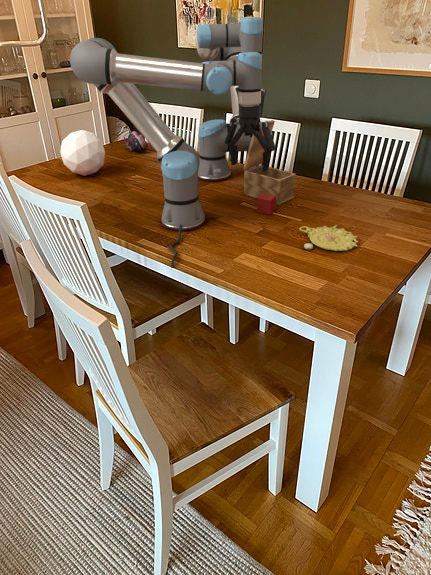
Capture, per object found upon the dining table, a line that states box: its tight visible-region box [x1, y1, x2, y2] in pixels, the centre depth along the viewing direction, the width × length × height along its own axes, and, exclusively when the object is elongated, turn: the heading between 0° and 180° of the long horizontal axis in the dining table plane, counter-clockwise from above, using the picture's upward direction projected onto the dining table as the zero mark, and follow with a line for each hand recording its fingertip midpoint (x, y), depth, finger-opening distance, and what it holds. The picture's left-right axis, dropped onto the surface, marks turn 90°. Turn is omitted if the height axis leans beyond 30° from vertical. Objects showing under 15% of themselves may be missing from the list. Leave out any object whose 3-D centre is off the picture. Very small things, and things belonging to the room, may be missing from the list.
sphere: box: [59, 129, 106, 177], centre depth 200 cm, size 19×20×20 cm
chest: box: [243, 164, 297, 206], centre depth 172 cm, size 17×10×10 cm, turn 45°
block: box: [256, 193, 277, 215], centre depth 161 cm, size 5×5×5 cm
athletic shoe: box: [121, 130, 149, 153], centre depth 234 cm, size 11×22×12 cm
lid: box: [242, 119, 276, 171], centre depth 170 cm, size 18×10×8 cm
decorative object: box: [299, 224, 359, 252], centre depth 141 cm, size 21×2×20 cm
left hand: (249, 167), depth 159 cm, fingers open, 13 cm apart
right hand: (250, 135), depth 170 cm, fingers closed on lid, 2 cm apart
